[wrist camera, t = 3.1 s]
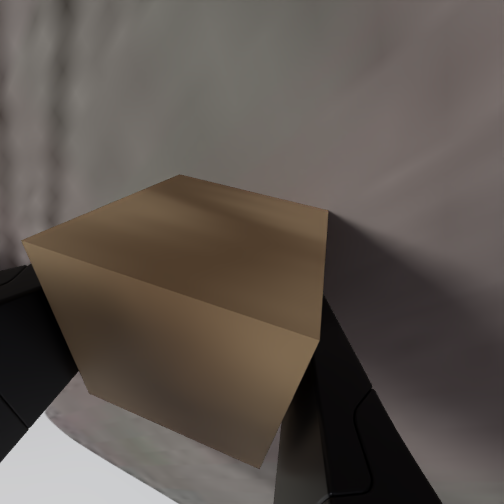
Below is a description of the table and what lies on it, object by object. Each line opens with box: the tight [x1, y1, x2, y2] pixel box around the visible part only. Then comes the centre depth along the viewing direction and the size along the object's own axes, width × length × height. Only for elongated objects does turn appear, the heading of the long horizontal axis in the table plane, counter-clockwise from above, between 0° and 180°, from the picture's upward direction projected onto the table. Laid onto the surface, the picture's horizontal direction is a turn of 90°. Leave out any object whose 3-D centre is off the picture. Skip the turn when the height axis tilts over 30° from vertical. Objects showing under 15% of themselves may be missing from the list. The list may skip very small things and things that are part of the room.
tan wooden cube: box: [21, 175, 328, 469], centre depth 7 cm, size 5×5×5 cm
